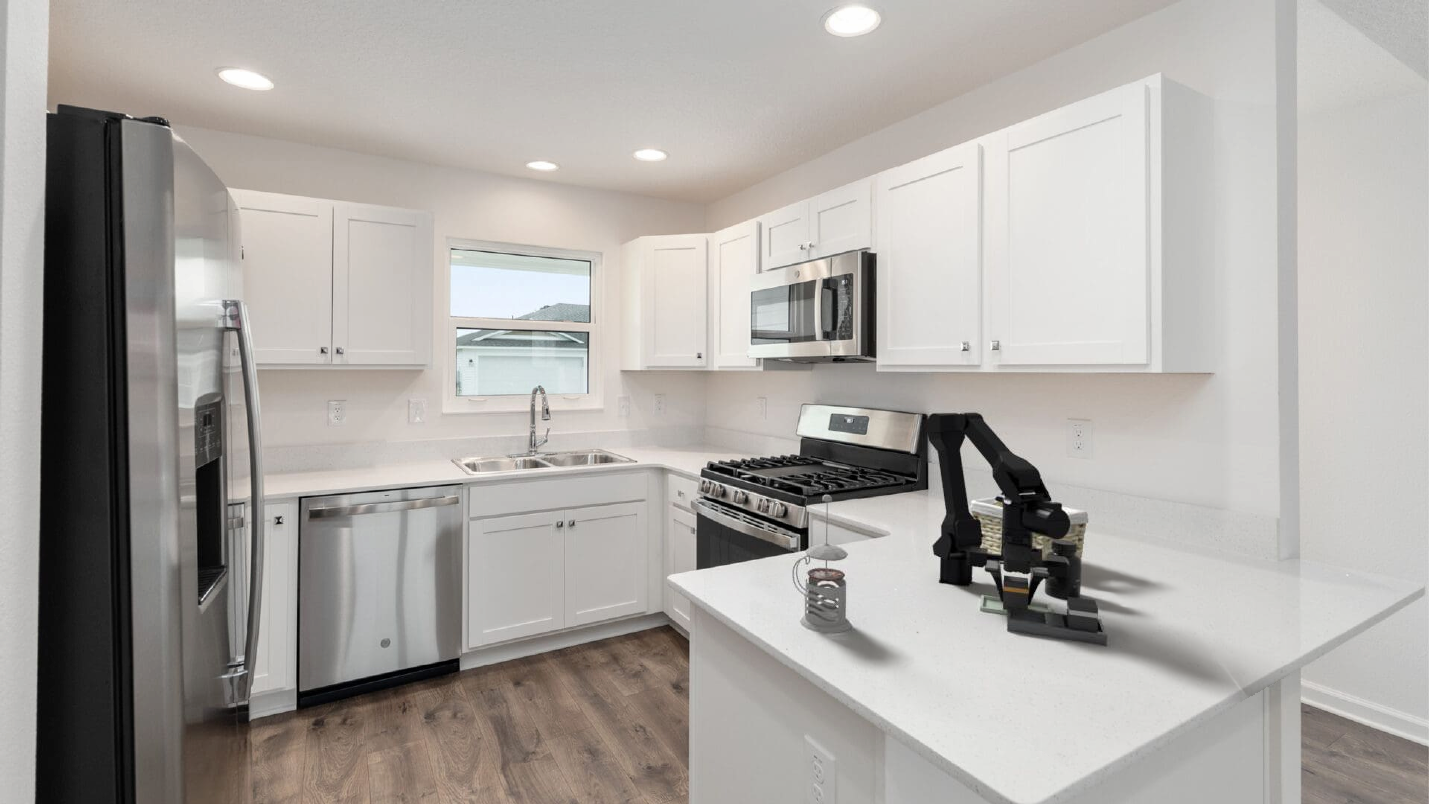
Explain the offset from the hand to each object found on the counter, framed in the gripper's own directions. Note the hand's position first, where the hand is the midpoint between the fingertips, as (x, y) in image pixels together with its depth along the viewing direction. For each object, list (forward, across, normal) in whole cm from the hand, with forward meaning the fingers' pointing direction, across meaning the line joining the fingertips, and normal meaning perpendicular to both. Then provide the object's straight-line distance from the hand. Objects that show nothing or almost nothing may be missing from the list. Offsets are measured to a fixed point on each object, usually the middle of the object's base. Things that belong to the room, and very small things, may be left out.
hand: (1015, 603), depth 133 cm
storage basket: (+2, +3, +40) cm, 40 cm away
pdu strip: (+2, +6, -9) cm, 11 cm away
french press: (+2, -34, -22) cm, 41 cm away
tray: (+2, 0, 0) cm, 2 cm away
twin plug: (+1, +11, -9) cm, 14 cm away
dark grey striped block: (+1, 0, 0) cm, 1 cm away
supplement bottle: (+2, +10, +14) cm, 17 cm away
